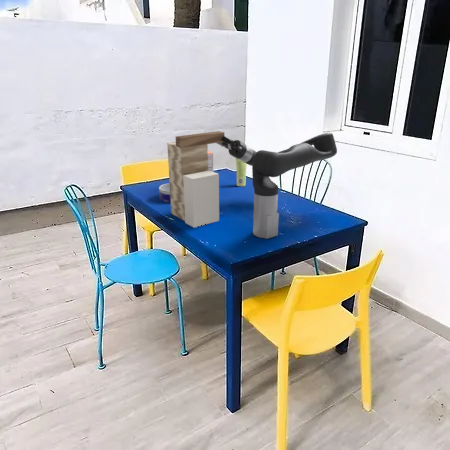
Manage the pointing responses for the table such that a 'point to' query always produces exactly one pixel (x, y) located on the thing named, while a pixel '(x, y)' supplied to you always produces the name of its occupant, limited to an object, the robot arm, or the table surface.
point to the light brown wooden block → (199, 139)
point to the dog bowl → (165, 192)
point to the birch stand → (184, 171)
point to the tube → (241, 172)
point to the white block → (201, 198)
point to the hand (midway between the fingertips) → (216, 136)
